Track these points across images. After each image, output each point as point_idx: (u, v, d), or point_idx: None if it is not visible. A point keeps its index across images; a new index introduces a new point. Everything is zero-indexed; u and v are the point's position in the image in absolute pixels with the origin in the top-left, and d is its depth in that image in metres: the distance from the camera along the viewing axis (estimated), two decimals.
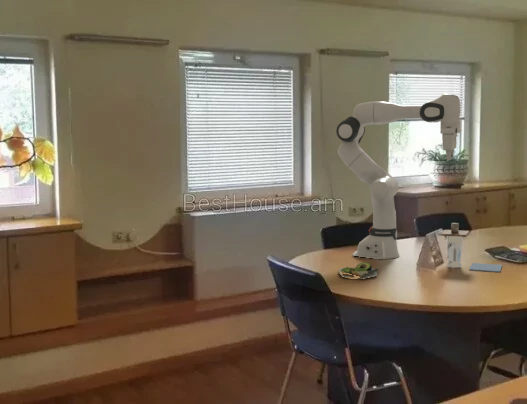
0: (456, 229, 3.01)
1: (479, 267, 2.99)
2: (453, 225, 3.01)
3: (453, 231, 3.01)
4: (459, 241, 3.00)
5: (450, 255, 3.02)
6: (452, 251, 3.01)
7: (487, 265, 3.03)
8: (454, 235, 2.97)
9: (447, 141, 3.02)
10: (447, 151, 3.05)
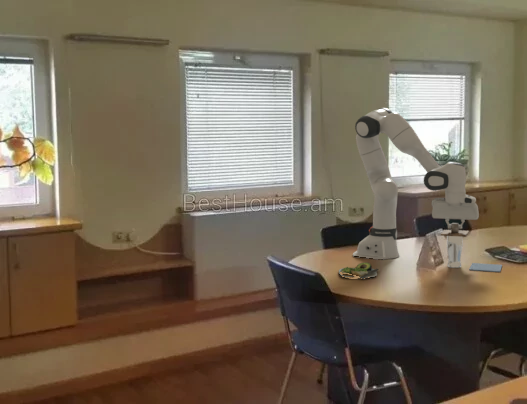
0: (456, 229, 3.01)
1: (479, 267, 2.99)
2: (453, 225, 3.01)
3: (453, 231, 3.01)
4: (459, 241, 3.00)
5: (450, 255, 3.02)
6: (452, 251, 3.01)
7: (487, 265, 3.03)
8: (454, 235, 2.97)
9: None
10: (464, 220, 3.00)
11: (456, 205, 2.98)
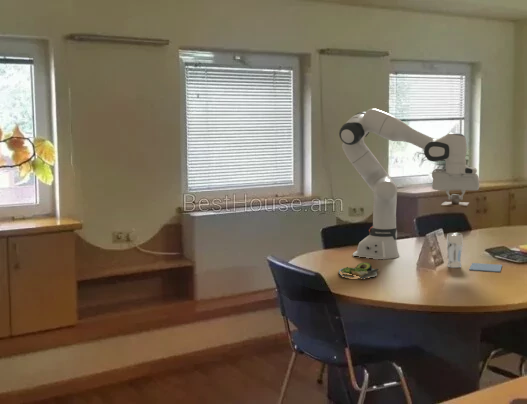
0: (456, 200, 2.99)
1: (479, 267, 2.99)
2: (453, 196, 2.99)
3: (453, 202, 2.99)
4: (459, 241, 3.00)
5: (450, 255, 3.02)
6: (452, 251, 3.01)
7: (487, 265, 3.03)
8: (454, 206, 2.95)
9: (478, 181, 2.96)
10: (464, 191, 2.98)
11: (456, 176, 2.96)
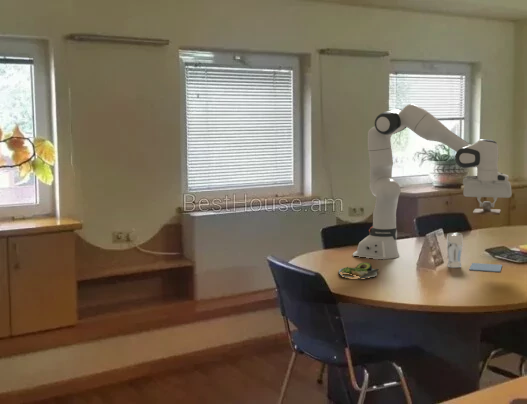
0: (488, 207, 2.95)
1: (479, 267, 2.99)
2: (485, 203, 2.95)
3: (485, 209, 2.95)
4: (459, 241, 3.00)
5: (450, 255, 3.02)
6: (452, 251, 3.01)
7: (487, 265, 3.03)
8: (487, 213, 2.92)
9: None
10: (496, 198, 2.94)
11: (488, 183, 2.92)
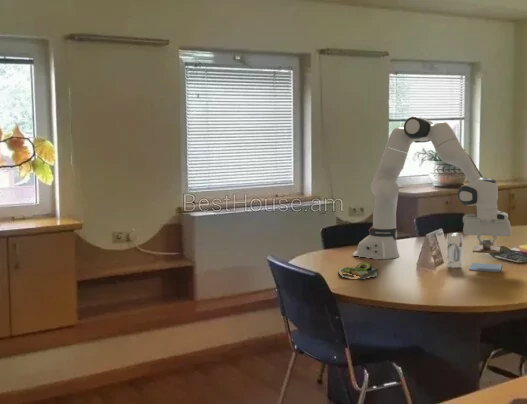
0: (488, 245, 2.97)
1: (479, 267, 2.99)
2: (485, 241, 2.97)
3: (485, 247, 2.98)
4: (459, 241, 3.00)
5: (450, 255, 3.02)
6: (452, 251, 3.01)
7: (487, 265, 3.03)
8: (486, 252, 2.94)
9: (510, 226, 2.94)
10: (496, 236, 2.96)
11: (488, 222, 2.94)
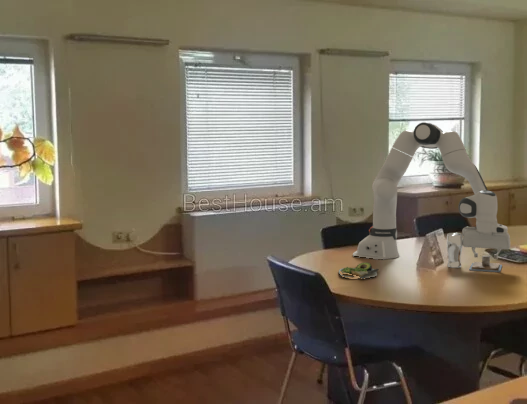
0: (487, 262, 2.98)
1: None
2: (484, 258, 2.98)
3: (484, 264, 2.99)
4: (459, 241, 3.00)
5: (450, 255, 3.02)
6: (452, 251, 3.01)
7: None
8: (486, 268, 2.95)
9: (509, 239, 2.95)
10: (500, 249, 2.96)
11: (487, 235, 2.95)
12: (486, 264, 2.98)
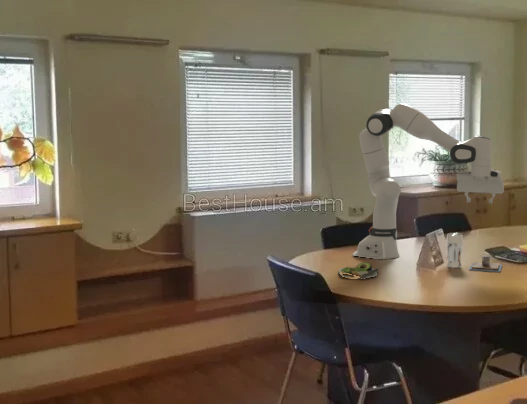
0: (487, 262, 2.98)
1: None
2: (484, 258, 2.98)
3: (484, 264, 2.99)
4: (459, 241, 3.00)
5: (450, 255, 3.02)
6: (452, 251, 3.01)
7: None
8: (486, 268, 2.95)
9: (503, 184, 2.98)
10: None
11: (481, 179, 2.98)
12: (486, 264, 2.98)
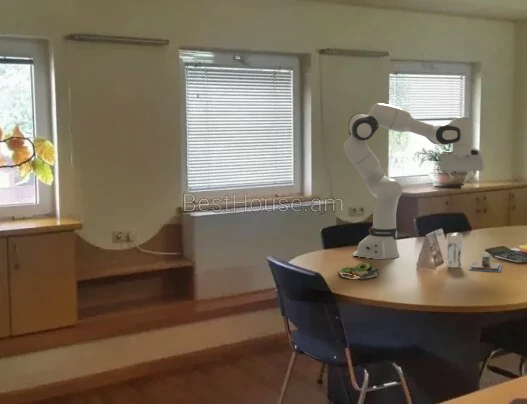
0: (487, 262, 2.98)
1: None
2: (484, 258, 2.98)
3: (484, 264, 2.99)
4: (459, 241, 3.00)
5: (450, 255, 3.02)
6: (452, 251, 3.01)
7: None
8: (486, 268, 2.95)
9: (483, 162, 3.16)
10: None
11: (463, 157, 3.16)
12: (486, 264, 2.98)
